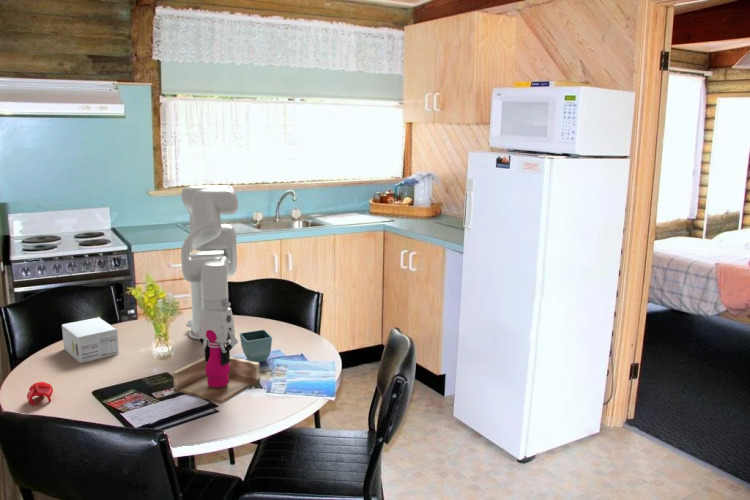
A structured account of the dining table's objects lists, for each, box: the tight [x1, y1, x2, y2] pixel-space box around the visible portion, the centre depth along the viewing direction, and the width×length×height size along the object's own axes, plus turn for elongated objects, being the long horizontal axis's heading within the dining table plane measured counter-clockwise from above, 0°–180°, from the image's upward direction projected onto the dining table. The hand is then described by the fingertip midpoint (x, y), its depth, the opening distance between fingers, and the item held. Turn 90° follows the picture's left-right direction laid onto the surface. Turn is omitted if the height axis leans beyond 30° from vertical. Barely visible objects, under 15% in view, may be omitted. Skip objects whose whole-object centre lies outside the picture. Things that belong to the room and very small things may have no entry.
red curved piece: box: [26, 381, 54, 406], centre depth 178 cm, size 8×6×6 cm
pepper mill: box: [205, 330, 230, 387], centre depth 186 cm, size 7×7×20 cm
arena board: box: [173, 373, 261, 404], centre depth 191 cm, size 18×18×1 cm
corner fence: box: [172, 355, 261, 389], centre depth 190 cm, size 18×18×5 cm
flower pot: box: [239, 329, 273, 363], centre depth 210 cm, size 9×9×9 cm
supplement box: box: [61, 316, 120, 364], centre depth 216 cm, size 17×13×9 cm
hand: (217, 361), depth 187 cm, fingers closed on pepper mill, 5 cm apart
